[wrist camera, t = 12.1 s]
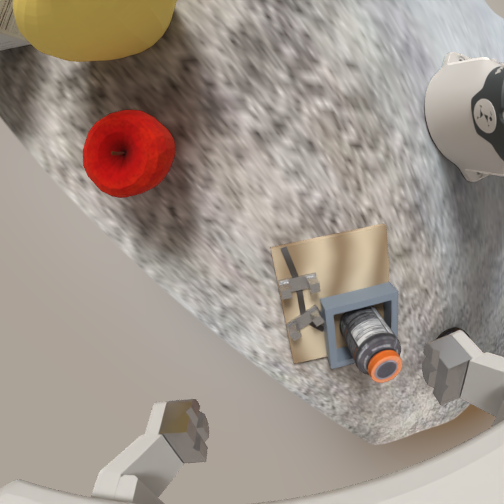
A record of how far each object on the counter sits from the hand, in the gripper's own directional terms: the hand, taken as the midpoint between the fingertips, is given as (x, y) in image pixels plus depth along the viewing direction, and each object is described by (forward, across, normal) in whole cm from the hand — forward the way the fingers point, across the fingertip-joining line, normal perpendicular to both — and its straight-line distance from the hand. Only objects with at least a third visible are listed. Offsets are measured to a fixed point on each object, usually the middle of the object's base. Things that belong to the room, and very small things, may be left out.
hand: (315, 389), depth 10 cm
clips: (+28, -2, +13) cm, 32 cm away
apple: (+30, +12, -10) cm, 34 cm away
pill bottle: (+29, -9, +18) cm, 35 cm away
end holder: (+30, -9, +18) cm, 36 cm away
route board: (+30, -7, +14) cm, 33 cm away
